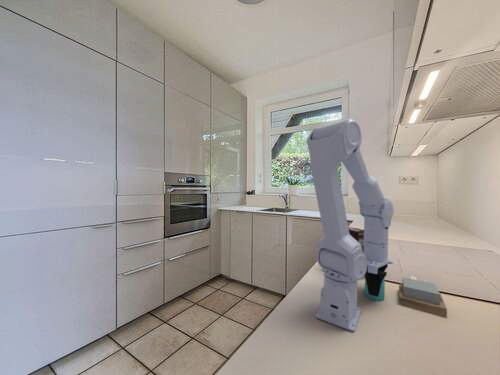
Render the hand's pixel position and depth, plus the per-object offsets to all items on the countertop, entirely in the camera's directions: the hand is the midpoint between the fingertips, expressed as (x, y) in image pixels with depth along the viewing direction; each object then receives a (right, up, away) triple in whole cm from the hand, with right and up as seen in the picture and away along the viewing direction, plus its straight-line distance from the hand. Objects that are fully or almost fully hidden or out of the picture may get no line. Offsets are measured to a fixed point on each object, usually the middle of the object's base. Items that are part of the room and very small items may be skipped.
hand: (374, 291), depth 57 cm
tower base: (+10, -2, -3) cm, 11 cm away
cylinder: (0, -1, 0) cm, 1 cm away
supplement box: (0, -2, +14) cm, 15 cm away
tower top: (+11, 0, -2) cm, 11 cm away
